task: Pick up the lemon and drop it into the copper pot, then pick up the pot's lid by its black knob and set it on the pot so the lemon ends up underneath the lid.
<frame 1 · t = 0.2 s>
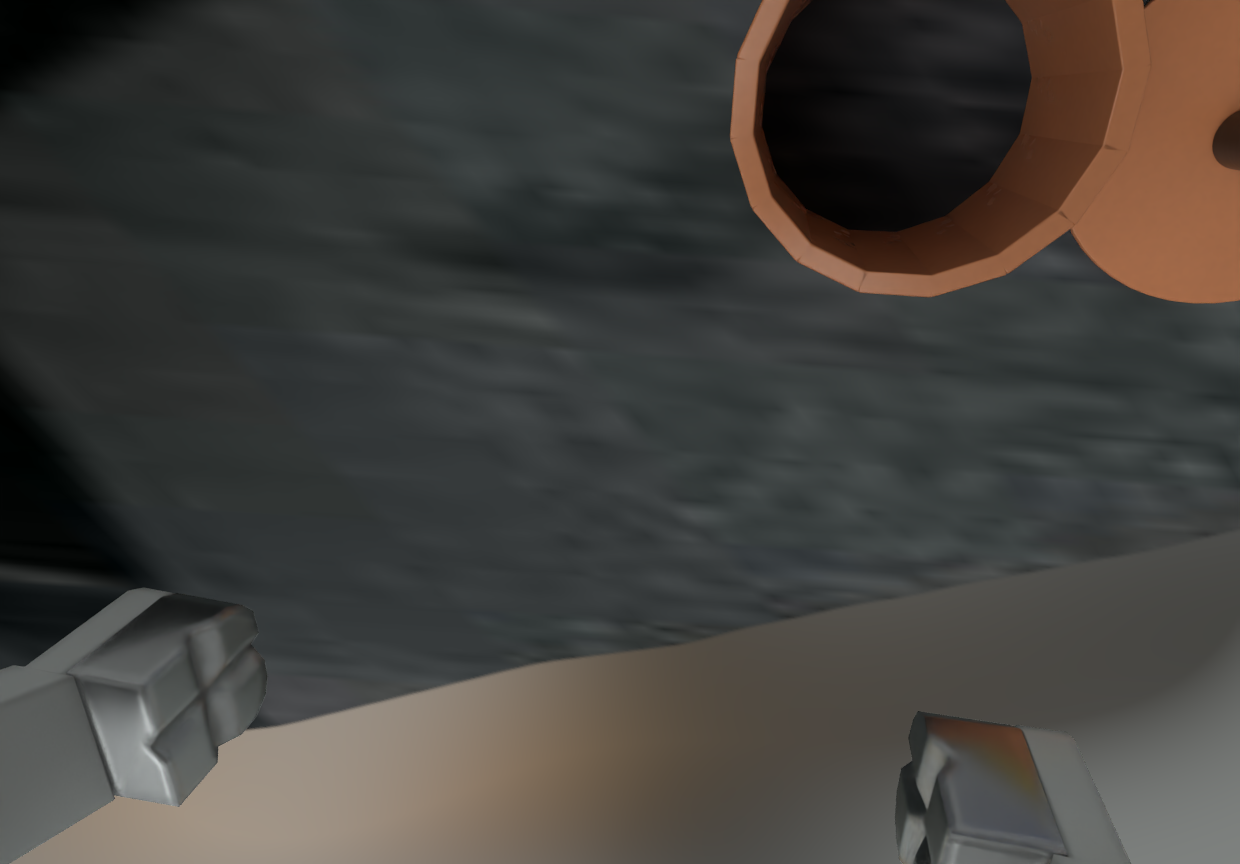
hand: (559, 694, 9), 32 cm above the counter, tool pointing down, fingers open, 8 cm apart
pot: (889, 102, 34), on the counter
lid: (1237, 137, 32), point 1 cm above the counter
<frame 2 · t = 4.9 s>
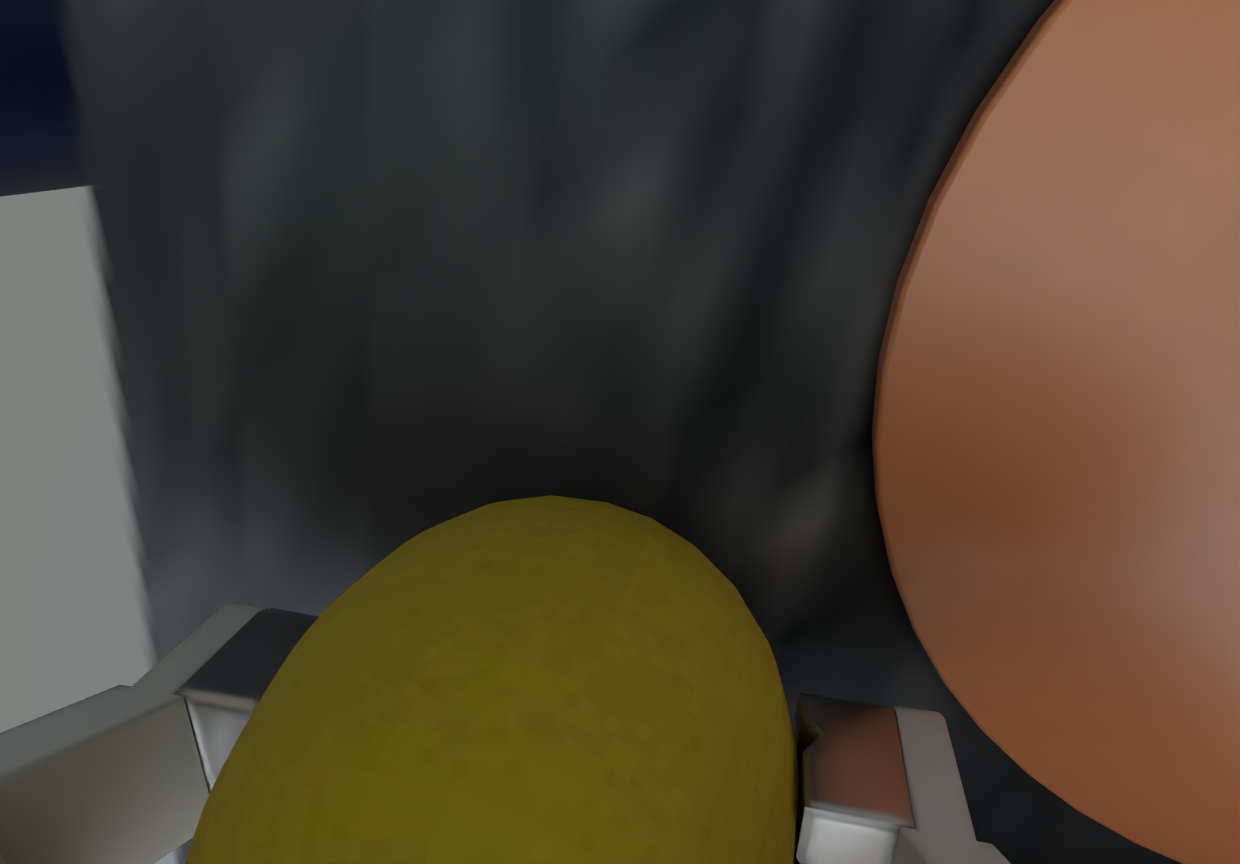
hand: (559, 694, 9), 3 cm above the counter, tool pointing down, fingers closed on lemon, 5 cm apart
lemon: (619, 567, 12), on the counter, touching gripper
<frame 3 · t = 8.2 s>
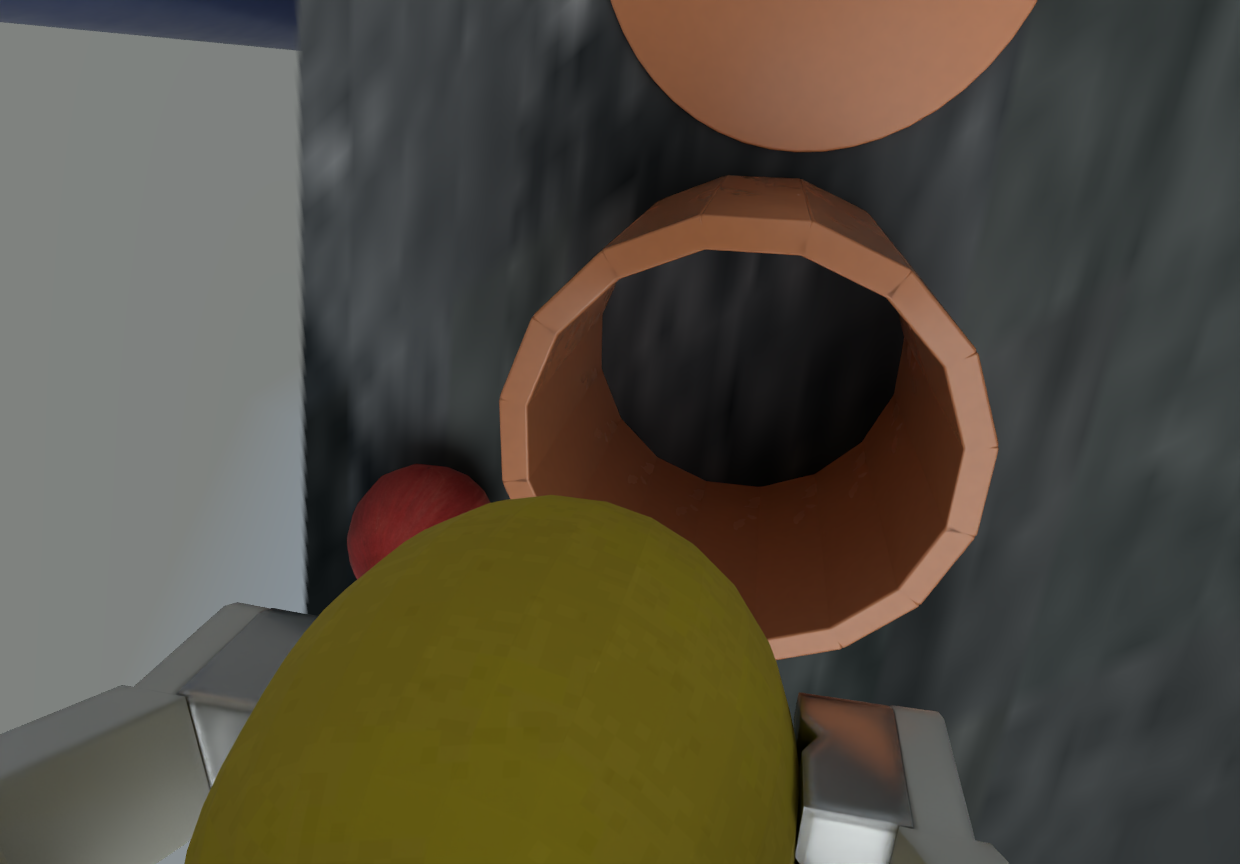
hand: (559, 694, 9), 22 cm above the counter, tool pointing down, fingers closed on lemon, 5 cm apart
lemon: (619, 567, 12), point 19 cm above the counter, touching gripper
onion: (463, 493, 35), on the counter
pot: (746, 347, 29), on the counter
when the fingers open (10 cm above the counter, at t = 11.7 s): lemon drops 6 cm, resting on pot.
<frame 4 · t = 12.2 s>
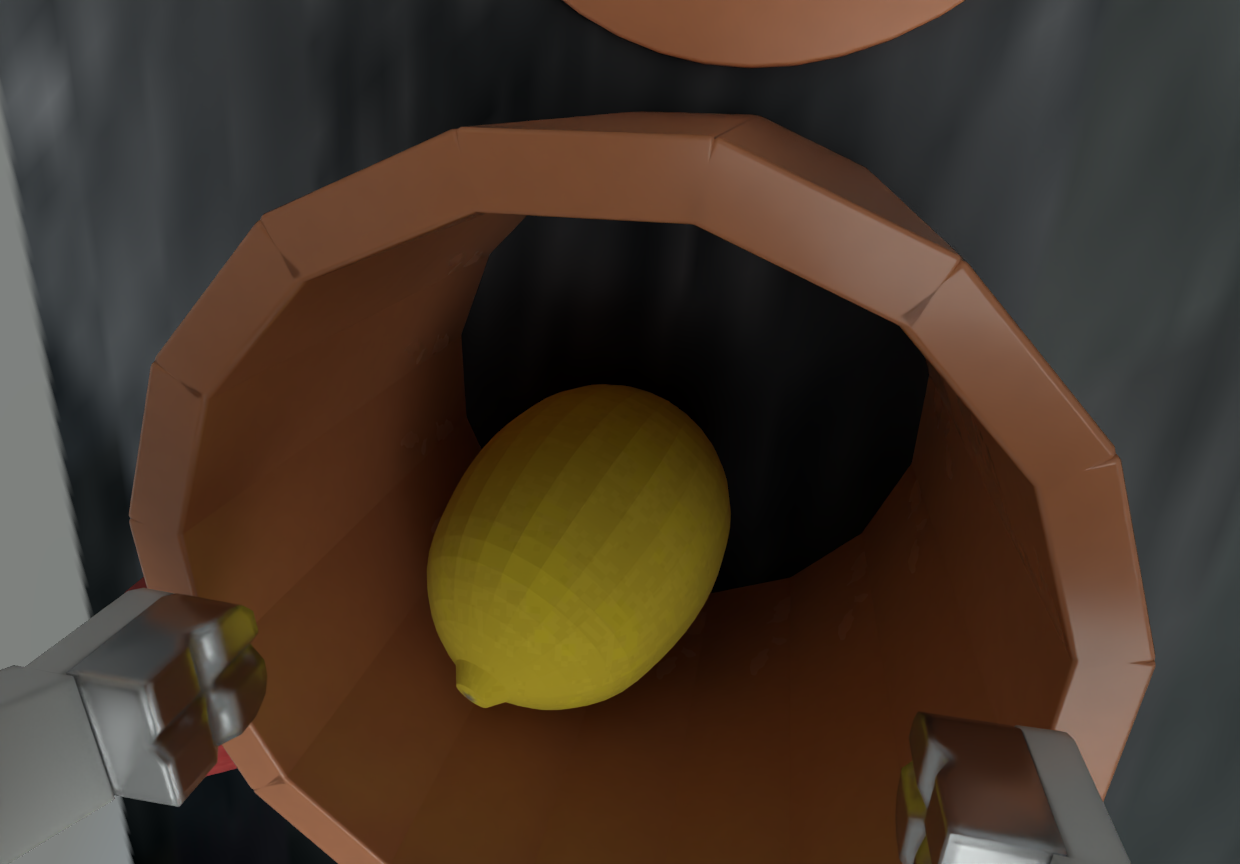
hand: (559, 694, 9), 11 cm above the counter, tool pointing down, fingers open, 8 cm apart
lemon: (677, 405, 18), point 1 cm above the counter, touching pot
onion: (300, 582, 25), on the counter
pot: (684, 385, 19), on the counter
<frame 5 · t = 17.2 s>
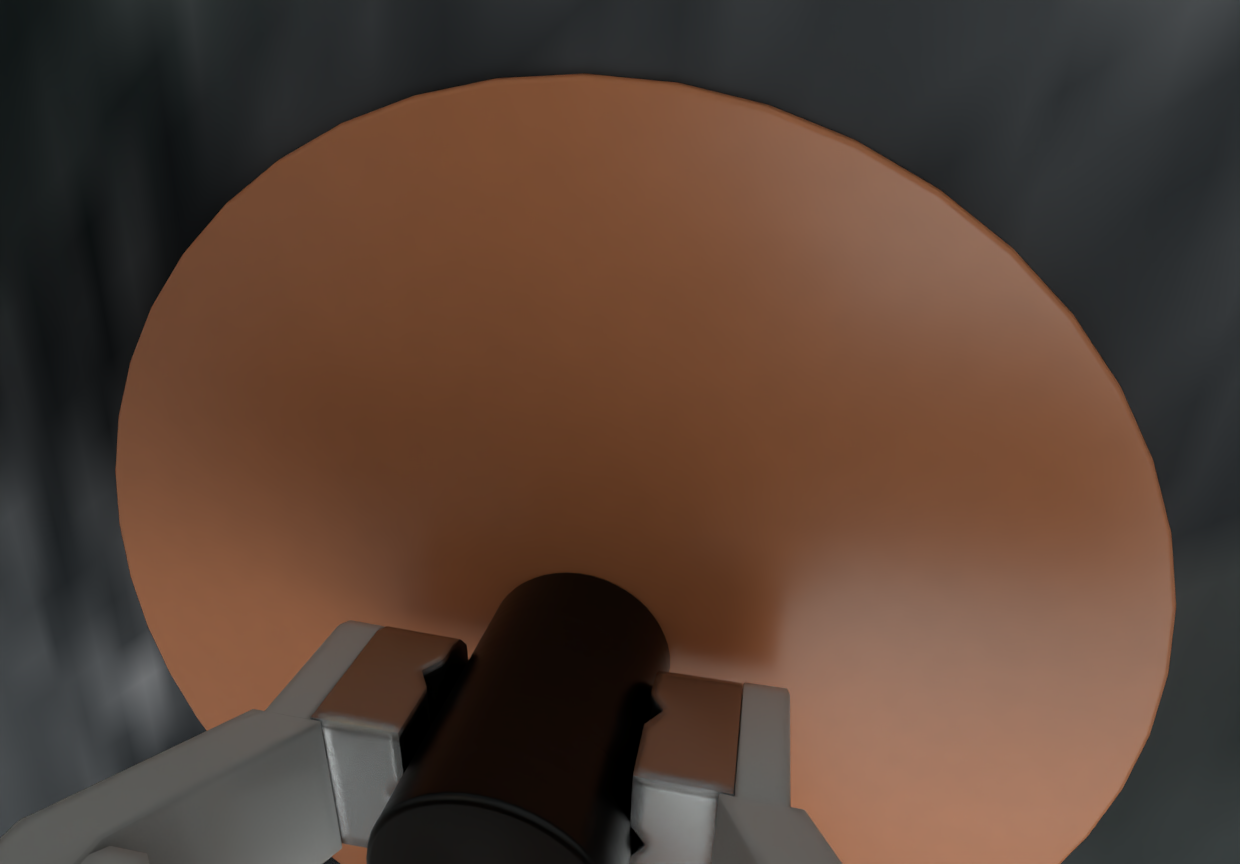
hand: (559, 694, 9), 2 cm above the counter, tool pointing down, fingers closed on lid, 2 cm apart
lid: (591, 619, 11), point 1 cm above the counter, touching gripper
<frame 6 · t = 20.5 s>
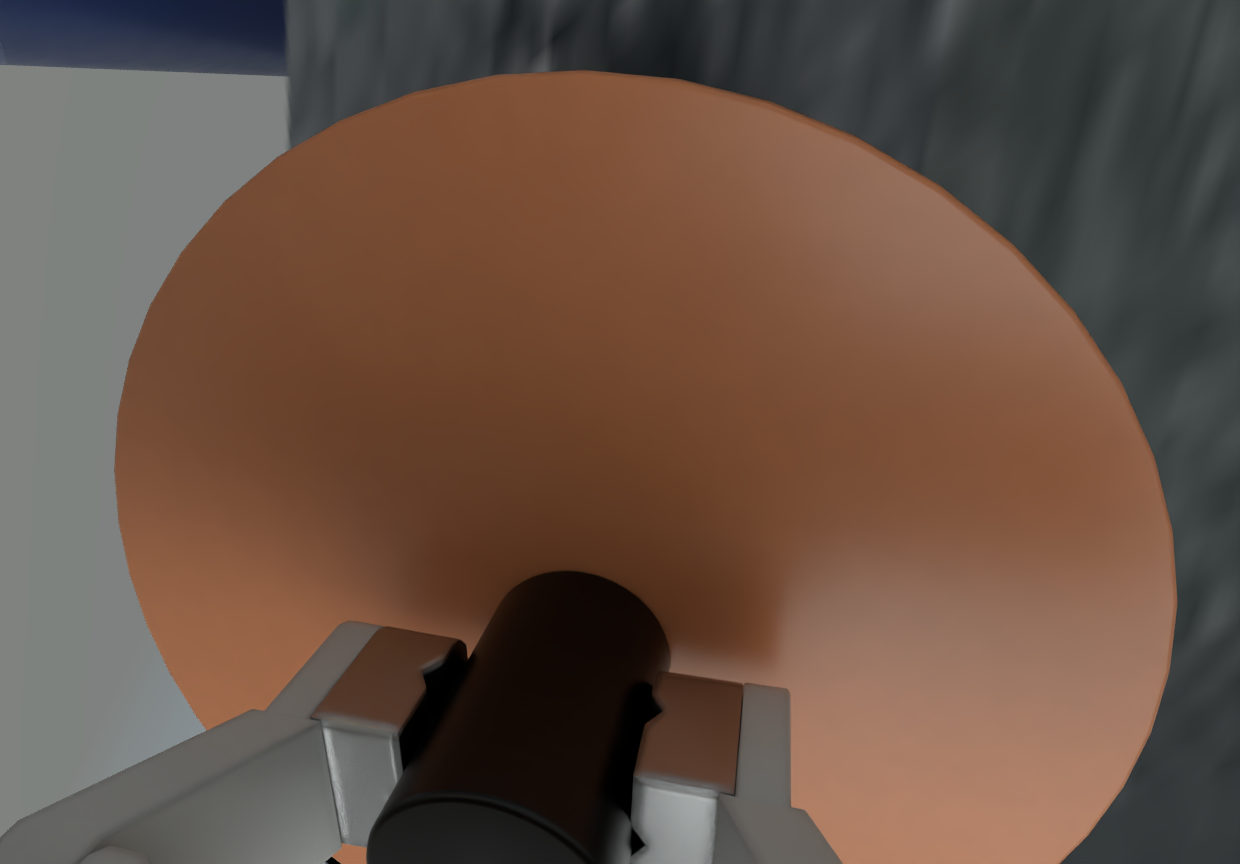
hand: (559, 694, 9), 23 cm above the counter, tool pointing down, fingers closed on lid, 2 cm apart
lid: (591, 618, 11), point 22 cm above the counter, touching gripper
when the fingers open (12 cm above the counter, at t = 23.8 s): lid stays where it is, resting on pot.
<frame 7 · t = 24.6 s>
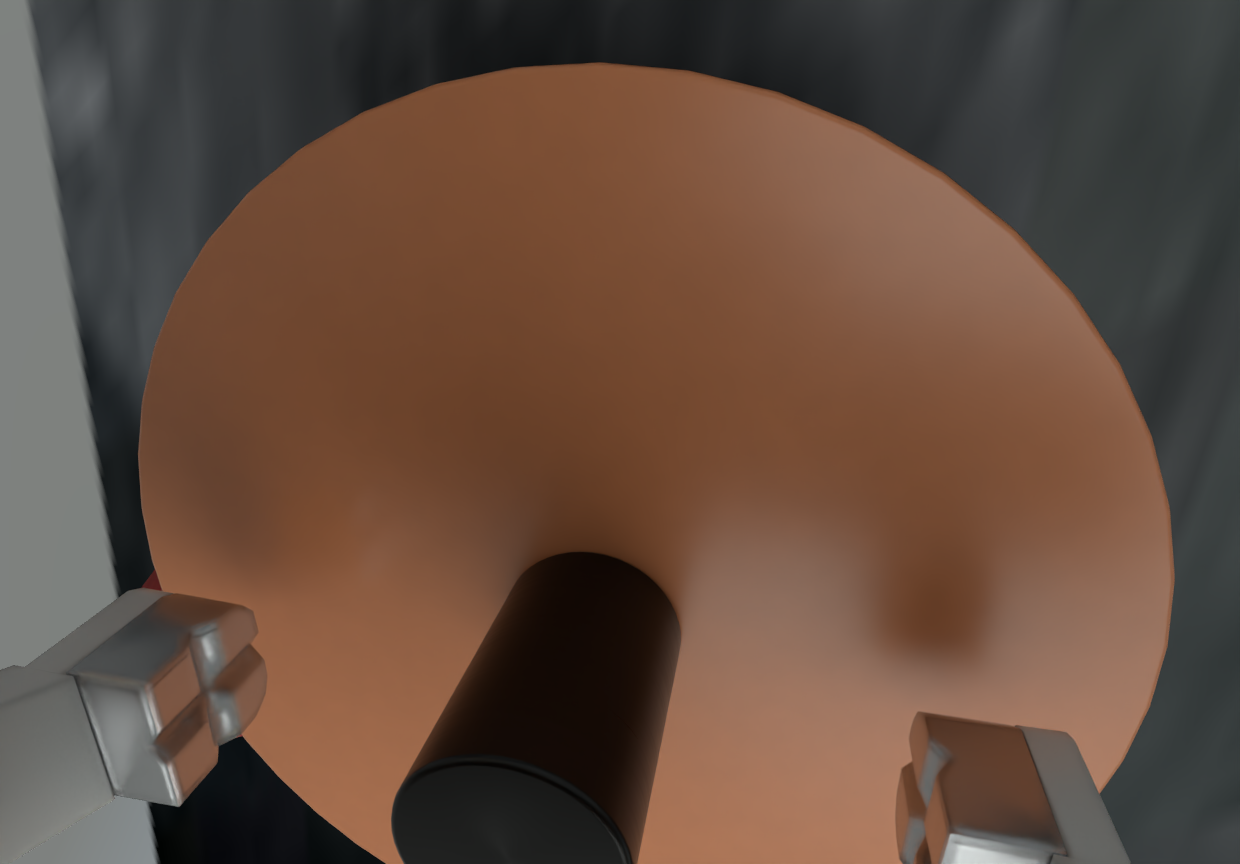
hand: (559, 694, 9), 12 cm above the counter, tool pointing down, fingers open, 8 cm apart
lid: (602, 599, 11), point 10 cm above the counter, touching pot
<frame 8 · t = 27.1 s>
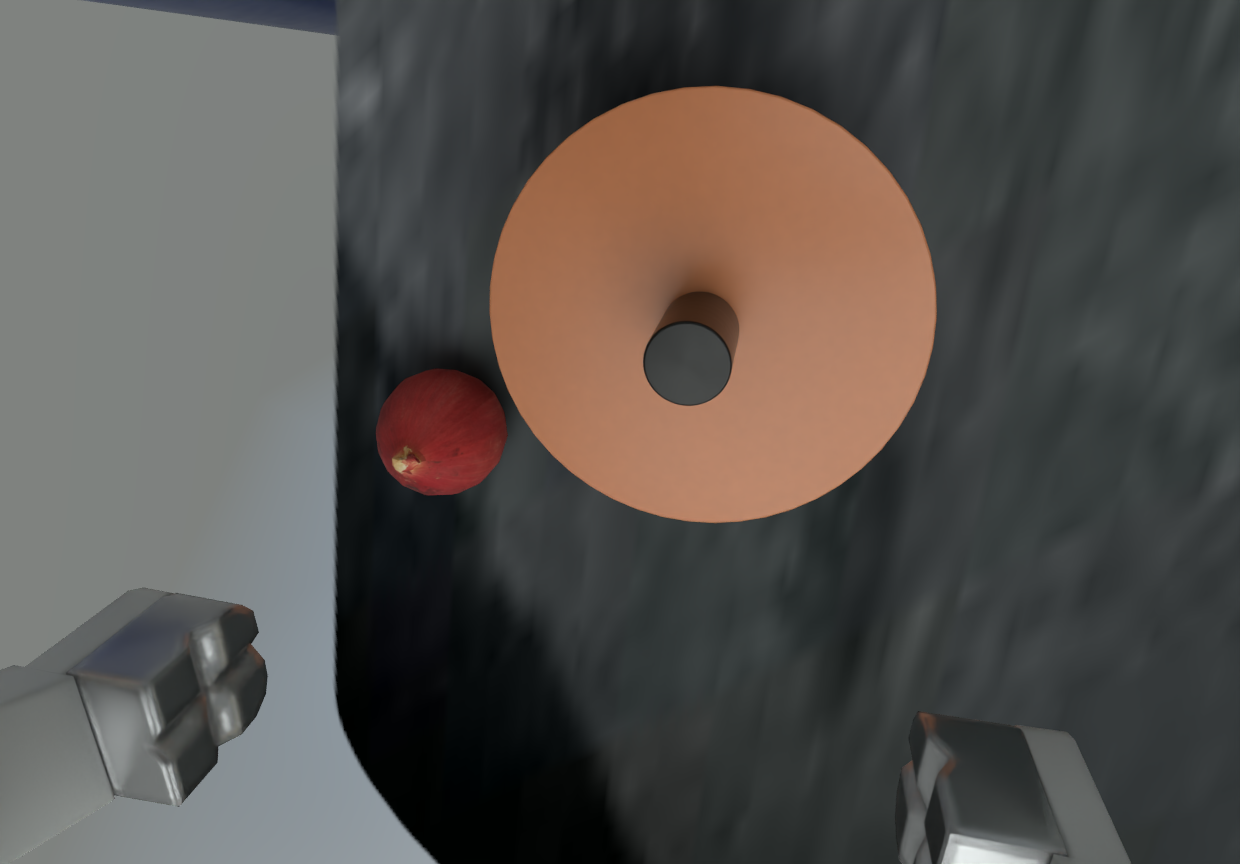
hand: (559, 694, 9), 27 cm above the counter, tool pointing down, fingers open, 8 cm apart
onion: (476, 403, 39), on the counter
lid: (702, 324, 24), point 10 cm above the counter, touching pot
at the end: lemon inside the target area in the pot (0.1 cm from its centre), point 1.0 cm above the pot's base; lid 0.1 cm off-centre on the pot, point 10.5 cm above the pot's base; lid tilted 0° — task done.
